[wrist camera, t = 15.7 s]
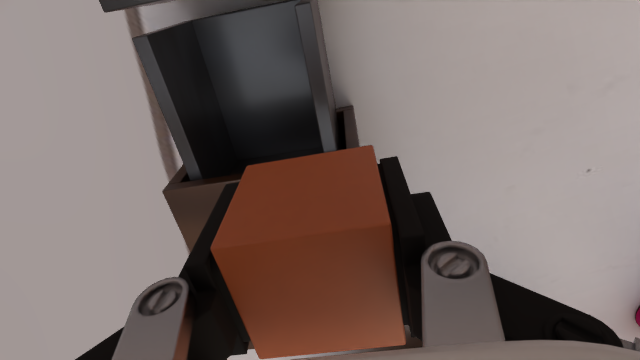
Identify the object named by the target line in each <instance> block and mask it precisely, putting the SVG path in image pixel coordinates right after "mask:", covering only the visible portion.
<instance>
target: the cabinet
mask: <svg viewBox="0 0 640 360" xmlns="http://www.w3.org/2000/svg"><path fill="white" fill-rule="evenodd" d="M336 113H337V119H338V125H339V131H340V137H341V143H342V149H343V150H344V149H350V148H356V147H360V146H359V139H358V133H357V127H356V120H355V114H354V108H353V106H349V107H343V108H337V109H336ZM243 174H244V173H241V174H235V175H228V176H222V177H215V178H208V179H202V180H195V181H190V178H189V176H188V173H187V171H186V168H185V166H184V164H183V165H182V167H181V168H180V169H179V171H178V172H177V173H176V174H175V176H174V177H173V178H172V179H171V181H170V182H169V183H168V185H167V186H166V187H165V189H164V190H163V194H164V196H165V198H166V200H167V203H168V205H169V207H170V209H171V211H172V213H173V216H174V218H175V220H176V222H177V224H178V227H179V229H180V231H181V233H182V235H183V237H184V239H185V242H186V244H187V246H188V248H189V250H190V252H191V251H192V249H193V247H194V245H195V243H196V241H197V239H198V237H199V235H200V233H201V231H202V229H203V228H204V226H205V224H206V222H207V220H208V218H209V216H210V214H211V212H212V210H213V208H214V206H215V204H216V202H217V200H218V198H219V196H220V194H221V193H222V191H223V189H224V187H225V185H226V184H229V183H235V182H240V180H241V178H242V176H243ZM248 349H255V348H254V346H253V344H252V341H249V346H248Z"/></svg>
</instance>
